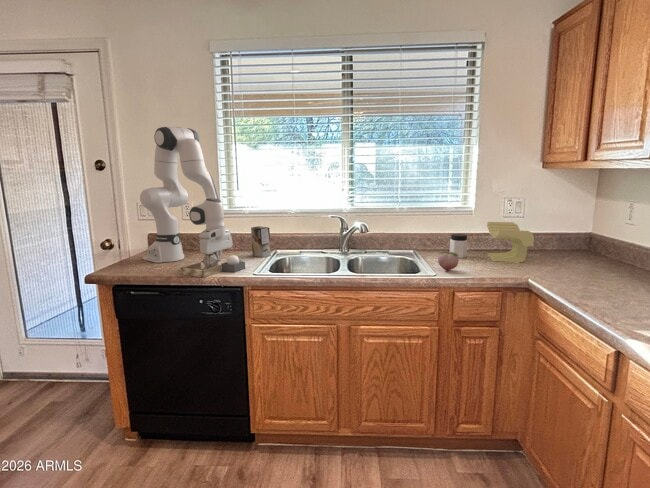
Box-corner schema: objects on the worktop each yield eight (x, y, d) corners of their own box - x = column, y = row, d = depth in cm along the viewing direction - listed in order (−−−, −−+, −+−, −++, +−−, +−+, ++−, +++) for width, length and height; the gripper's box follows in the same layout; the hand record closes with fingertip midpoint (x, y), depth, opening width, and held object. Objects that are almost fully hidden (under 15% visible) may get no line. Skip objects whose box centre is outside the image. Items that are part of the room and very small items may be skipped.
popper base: (221, 270, 186) (221, 263, 185) (232, 266, 193) (232, 260, 192) (234, 272, 183) (234, 265, 182) (245, 268, 190) (244, 261, 189)
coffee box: (271, 255, 218) (270, 227, 215) (262, 257, 213) (261, 228, 210) (260, 253, 224) (259, 225, 220) (251, 255, 219) (250, 227, 216)
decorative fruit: (459, 269, 184) (460, 248, 182) (457, 273, 177) (458, 252, 175) (438, 267, 188) (439, 247, 186) (436, 271, 181) (437, 250, 179)
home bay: (181, 274, 180) (181, 267, 180) (200, 268, 191) (199, 262, 190) (203, 277, 174) (203, 271, 174) (221, 271, 185) (221, 265, 184)
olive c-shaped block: (531, 267, 187) (534, 230, 184) (495, 265, 191) (498, 230, 187) (515, 254, 216) (518, 222, 213) (485, 252, 219) (487, 221, 216)
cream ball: (224, 270, 186) (223, 256, 185) (232, 267, 192) (231, 253, 190) (234, 271, 184) (233, 257, 183) (242, 268, 189) (241, 254, 188)
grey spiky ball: (213, 277, 188) (210, 265, 180) (199, 269, 190) (195, 258, 182) (225, 263, 193) (222, 252, 185) (211, 256, 195) (207, 245, 187)
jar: (469, 257, 208) (470, 235, 206) (455, 258, 206) (456, 236, 204) (460, 254, 216) (461, 233, 214) (446, 255, 215) (448, 233, 212)
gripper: (224, 228, 199) (226, 255, 202) (196, 234, 181) (198, 263, 183) (234, 229, 196) (236, 255, 199) (206, 235, 178) (209, 264, 181)
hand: (218, 259), depth 191 cm, fingers closed
